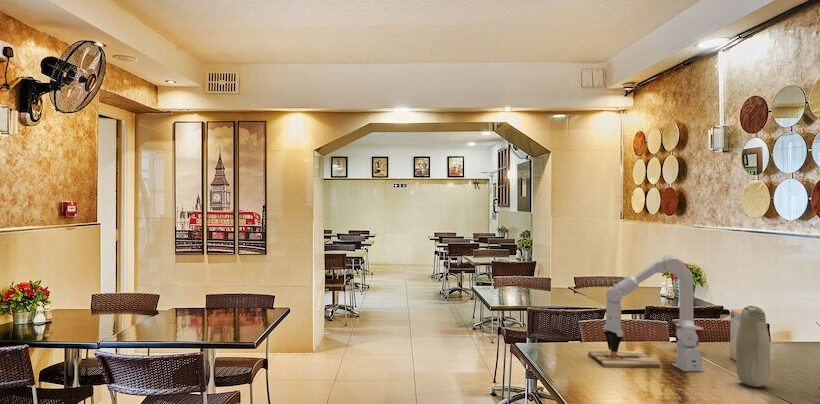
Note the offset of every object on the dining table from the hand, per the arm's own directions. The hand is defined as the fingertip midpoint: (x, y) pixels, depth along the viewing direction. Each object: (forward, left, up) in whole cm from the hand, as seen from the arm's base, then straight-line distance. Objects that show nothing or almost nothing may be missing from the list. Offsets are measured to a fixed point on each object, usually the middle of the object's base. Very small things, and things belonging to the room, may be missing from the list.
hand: (613, 350), depth 225 cm
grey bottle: (-30, -38, -5) cm, 49 cm away
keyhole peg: (0, 0, -4) cm, 4 cm away
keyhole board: (0, -4, -4) cm, 6 cm away
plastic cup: (+16, -40, -5) cm, 43 cm away
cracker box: (0, -54, -5) cm, 54 cm away
